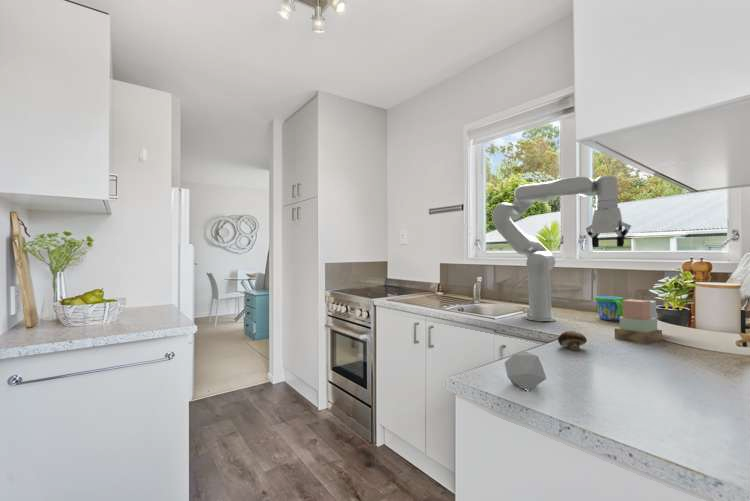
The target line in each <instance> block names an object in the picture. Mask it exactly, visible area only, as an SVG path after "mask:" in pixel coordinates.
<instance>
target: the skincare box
mask: <svg viewBox="0 0 750 501" xmlns="http://www.w3.org/2000/svg"><path fill="white" fill-rule="evenodd" d="M645 300H646V299H645ZM646 301H650V318H657V319H658V312H657V311H656V309H657V302H656V300H646Z"/></svg>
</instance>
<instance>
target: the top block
mask: <svg viewBox="0 0 750 501" xmlns="http://www.w3.org/2000/svg"><path fill="white" fill-rule="evenodd" d="M657 324H658V317H657V318H649V319H645V320H639V319H631V318H623V316H622V317H621V316H620V318H619V327H620V329H624V330H630V331H637V332H644V333H648V332H652V331H655V330H657Z"/></svg>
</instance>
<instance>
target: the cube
mask: <svg viewBox="0 0 750 501" xmlns="http://www.w3.org/2000/svg"><path fill="white" fill-rule="evenodd" d="M650 301H651V300H648V301H646V299H644V300H643V299H633V298H629V299H624V300H623V302H622V307H623V314H622V317H623V318H631V319H639V320H645V319H649V318H650Z"/></svg>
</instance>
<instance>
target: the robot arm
mask: <svg viewBox="0 0 750 501" xmlns="http://www.w3.org/2000/svg"><path fill="white" fill-rule="evenodd" d="M618 192H619V191H618V177H617V176H616V175H613V174H611V175H610V174H609V175H601V176H598V177H597V178H596V179H593V178H590V177H589V176H586V175H585V176H584V175H583V176H571V177H565V178H564V177H563V178H560V179H555V180H551V181H544V182H538V183H530V184H529V183H527V184H524V185H523V184H522V185H519V186H518V187H516V188H515V190H514V191H513V196H514V199H513V201H512V202H511V203H509V202H501V203H498V204H497V205H496V206H495V207H494V208H493V211H492V215H491V216H492V217H491V220H492V223H493V225H494V227H495V229H496V231H497V232H498V233H499V234H500V236H502V237H503V239H504V240H505V241H506V242H507V244H509V245H510V246H511V248H513V250H514V251H515V252H516V253H517V254H520V255H522V256H523V255H525V256H526V257H527V258H526V264H525V265H526V272H527V273H526V274H527V280H528V282H527V284H528V286H527V287H528V308H524V309H523V310H522V313H524V314H527V315H525V319H526V320H527V319H529V320H528V321H531V320H535V321H534V322H541V321H550V322H555V321H556V320H557V319H556V317H555V316H553V313H552V312H553V311H552V310H553V309H552V308H553V307H552V279H551V278H552V277H551V272H550V271H551V270H552V269H553V268H554V267H555V265H556V259H555V256H554V255H553V254H552V252H551V251H550V250H548V248H547V247H545V245H544V244H543V243H542V242H541V241H539V239H537V237H534V235H529V234H526V233H525V232H524V231H523V230H522V229H521V228H520V227H519V226H518V225H517V224H516V223H515V222H514V221H516V220H518V219H520V218H521V217H522V216H523V215H524V214H525V213H526V212H527V211H528V210H529V209H530V208H531V207H533V205H534V204H535V203H537V202H545V201H546V202H547V201H554V200H555V199H557V198H558V197H559V198H560V197H565V196H573V195H579V196H581V197H585V198H586V197H592V196H595V204H593V206H592V208H595V209H594V210H593V214H592V220H591V225H589V226H587V227H586V228H585V231H586V232H587V235H588V236H589V237H590V239H591V245H592V247H593V248H599V245H600V244H599V243H600V242H599V241H600V240H599V238H598V237H599V235H600V234H611V233H612V234H613V233H615V234H616V235H617V237H616V247H622V248H623V247H624V245H625V237H626V235H627V234H628V233H629V231H630V229H631V228H632V225H631V224H630V223H629V224H628V223H627V222H624V221H623V217H622V213H621V209H620V207H619V206H618V205H619V202H618V201H619V199H618ZM623 227H624V228H623Z"/></svg>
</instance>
